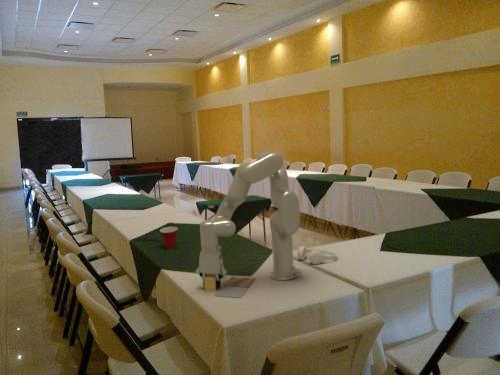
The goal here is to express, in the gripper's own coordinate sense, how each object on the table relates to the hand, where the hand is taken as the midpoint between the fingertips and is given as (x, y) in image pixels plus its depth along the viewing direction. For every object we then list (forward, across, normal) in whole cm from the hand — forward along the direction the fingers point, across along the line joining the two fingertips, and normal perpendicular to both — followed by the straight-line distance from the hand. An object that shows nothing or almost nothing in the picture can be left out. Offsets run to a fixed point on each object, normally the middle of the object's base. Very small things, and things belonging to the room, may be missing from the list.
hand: (212, 287), depth 188 cm
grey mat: (+1, -10, +2) cm, 10 cm away
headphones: (+1, -40, -50) cm, 64 cm away
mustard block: (+1, 0, 0) cm, 1 cm away
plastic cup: (+1, +52, -59) cm, 79 cm away
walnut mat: (+1, -10, -10) cm, 14 cm away
